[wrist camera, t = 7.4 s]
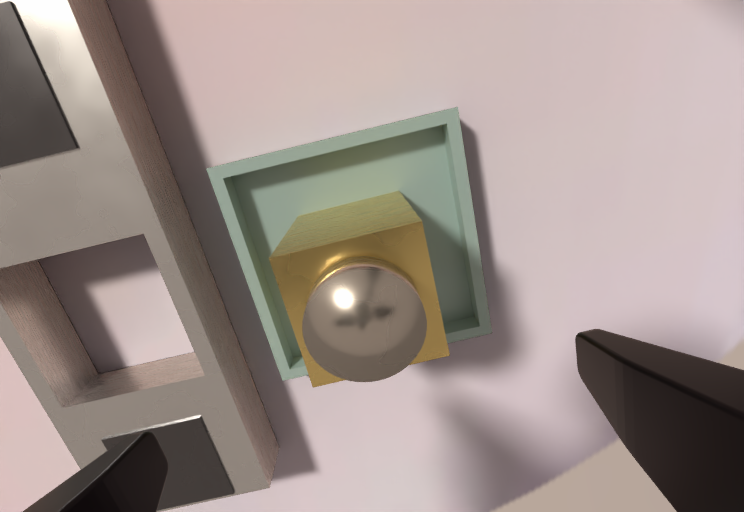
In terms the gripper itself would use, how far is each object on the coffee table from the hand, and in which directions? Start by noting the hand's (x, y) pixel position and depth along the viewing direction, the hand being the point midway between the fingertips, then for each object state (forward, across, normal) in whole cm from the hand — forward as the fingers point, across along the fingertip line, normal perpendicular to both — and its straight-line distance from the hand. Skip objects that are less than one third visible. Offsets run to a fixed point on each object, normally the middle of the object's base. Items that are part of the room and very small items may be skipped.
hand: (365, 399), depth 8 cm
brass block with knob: (+10, 0, 0) cm, 10 cm away
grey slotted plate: (+10, +11, -2) cm, 15 cm away
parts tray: (+10, 0, 0) cm, 10 cm away
